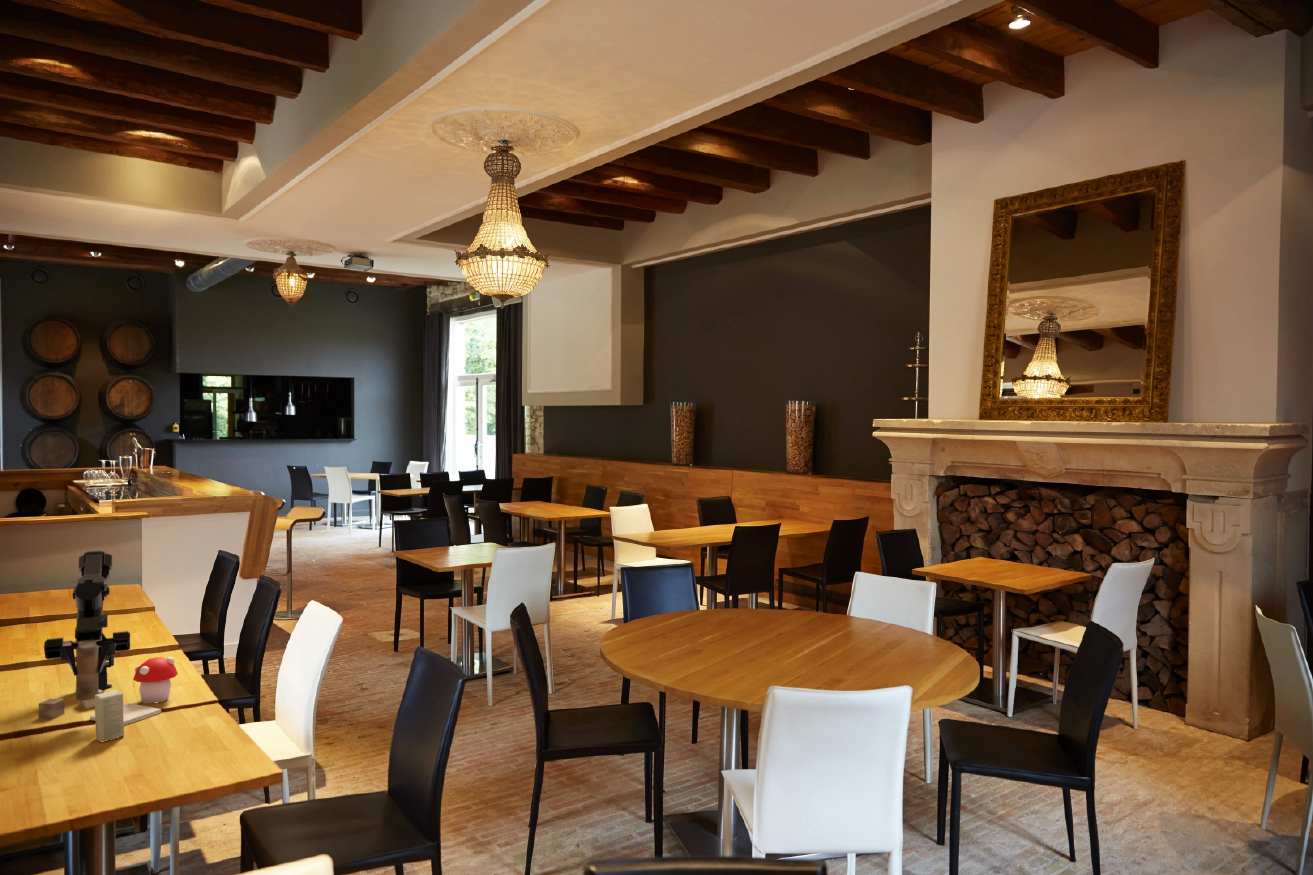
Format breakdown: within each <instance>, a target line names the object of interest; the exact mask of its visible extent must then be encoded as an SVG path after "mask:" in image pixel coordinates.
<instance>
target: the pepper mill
mask: <svg viewBox="0 0 1313 875" xmlns="http://www.w3.org/2000/svg"><path fill="white" fill-rule="evenodd" d="M75 663H76V676H75V686H76V687H75V700H77V701H79V700H90V699H94V698H95V695H98V645H96V640H84V641H80V642H79V643H78V647H77V648H76V650H75Z"/></svg>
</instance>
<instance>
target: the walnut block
mask: <svg viewBox="0 0 1313 875" xmlns="http://www.w3.org/2000/svg"><path fill="white" fill-rule="evenodd" d="M64 714H65V698H47V699H46V700H43V701H41V702H39V703H38V719H40V718H47V719H48V720H49V719H51V720H54V719H56V718H58V717H60V716H63V715H64ZM57 716H58V717H57ZM47 719H46V720H47Z"/></svg>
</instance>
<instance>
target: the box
mask: <svg viewBox="0 0 1313 875" xmlns="http://www.w3.org/2000/svg"><path fill="white" fill-rule="evenodd" d="M123 705H124V693H123V692H120V690H117V689H115V690H112V691H107V692H103V693H102V694H98V695H95V707H94V714H95V724H94V725H95V739H96V740H97V739H98V740H100V741H105V740H111V741H113V740H112V739H114V740H116V739H115V738H117V737H121V736H124V737H125V725H124V716H123ZM121 738H122V737H121ZM98 740H97V741H98ZM100 741H99V742H100Z"/></svg>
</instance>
